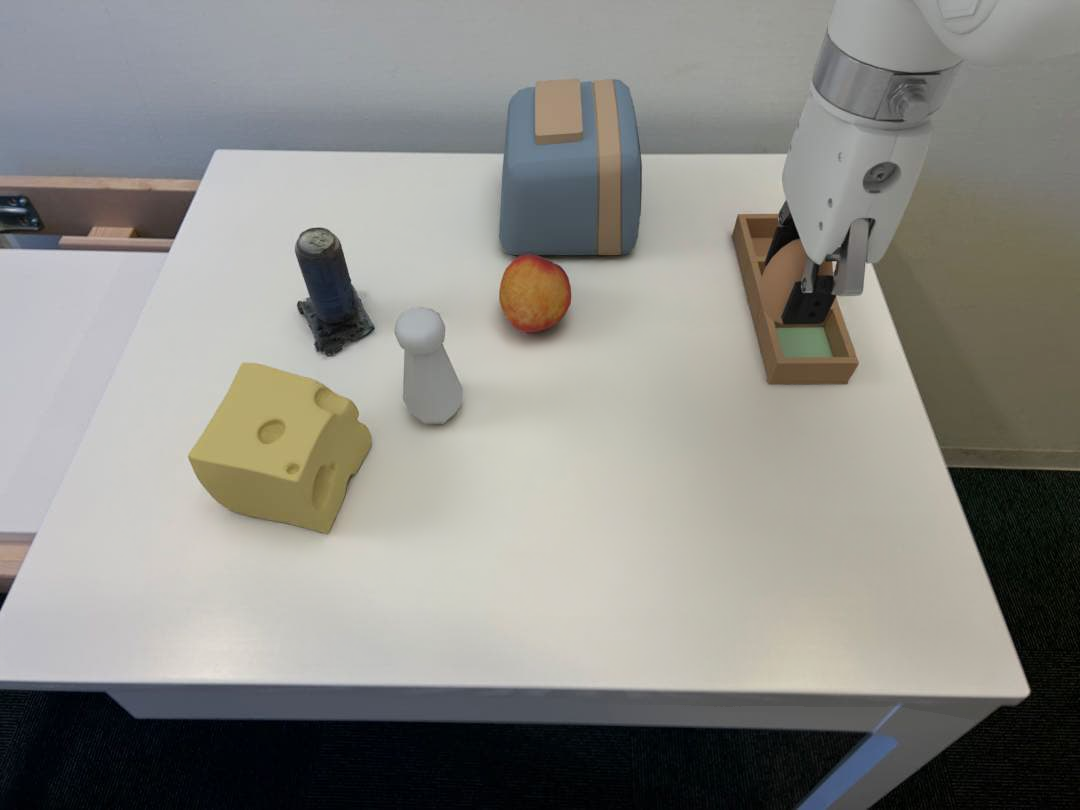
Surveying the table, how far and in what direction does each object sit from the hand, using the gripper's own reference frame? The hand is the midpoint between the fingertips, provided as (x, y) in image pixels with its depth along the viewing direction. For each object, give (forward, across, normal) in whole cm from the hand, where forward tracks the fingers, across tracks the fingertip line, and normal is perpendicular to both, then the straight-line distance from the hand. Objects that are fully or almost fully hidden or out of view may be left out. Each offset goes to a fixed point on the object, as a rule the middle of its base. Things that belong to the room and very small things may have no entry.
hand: (792, 291), depth 55 cm
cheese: (+18, -6, +43) cm, 46 cm away
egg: (+3, 0, 0) cm, 3 cm away
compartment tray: (+17, +15, -8) cm, 25 cm away
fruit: (+18, +14, +20) cm, 30 cm away
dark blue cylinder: (+18, +14, +42) cm, 48 cm away
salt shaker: (+18, +2, +30) cm, 35 cm away
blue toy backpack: (+18, +31, +16) cm, 39 cm away
